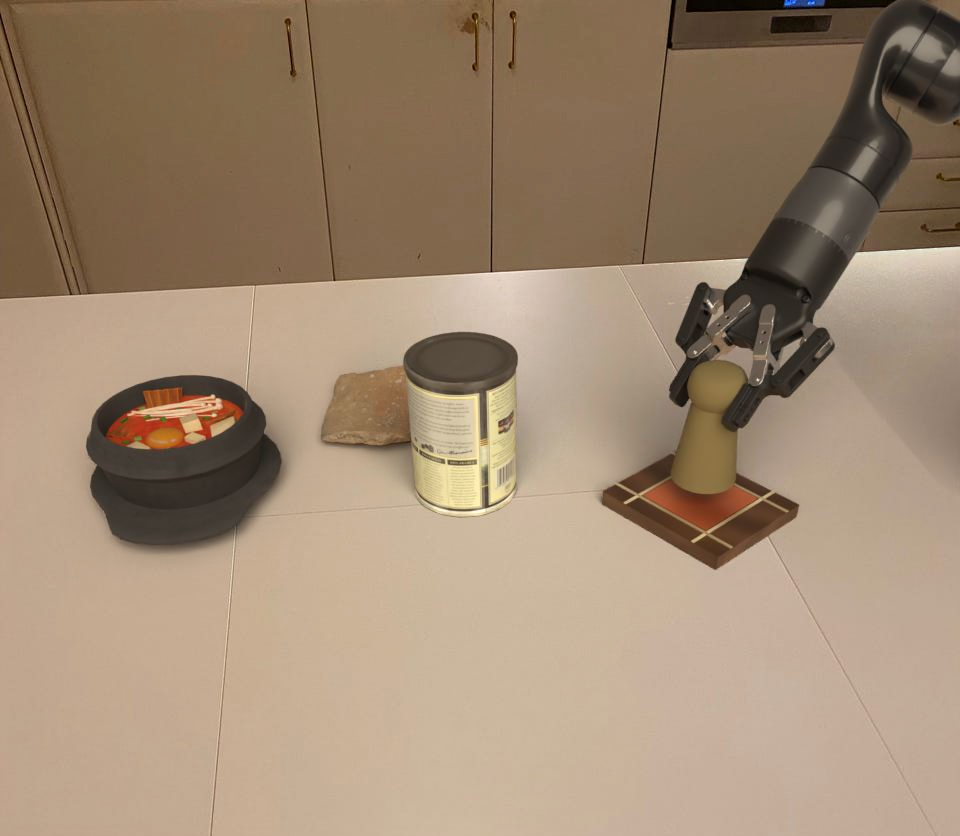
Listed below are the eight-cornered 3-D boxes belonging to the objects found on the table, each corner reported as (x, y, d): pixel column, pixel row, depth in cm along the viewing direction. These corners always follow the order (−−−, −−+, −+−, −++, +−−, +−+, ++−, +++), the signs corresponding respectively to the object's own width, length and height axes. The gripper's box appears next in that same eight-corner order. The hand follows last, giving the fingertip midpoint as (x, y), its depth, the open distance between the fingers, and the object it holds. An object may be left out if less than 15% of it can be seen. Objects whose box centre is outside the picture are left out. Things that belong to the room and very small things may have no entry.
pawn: (668, 491, 90) (684, 381, 83) (671, 455, 95) (686, 348, 87) (736, 497, 89) (757, 387, 82) (735, 460, 94) (755, 353, 86)
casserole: (116, 429, 107) (94, 357, 102) (287, 416, 109) (275, 344, 103) (73, 569, 89) (44, 492, 83) (280, 552, 90) (265, 474, 85)
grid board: (682, 459, 101) (684, 445, 100) (796, 517, 93) (800, 503, 92) (601, 504, 95) (602, 490, 94) (715, 570, 87) (718, 556, 86)
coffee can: (423, 457, 102) (414, 328, 93) (522, 463, 101) (523, 333, 91) (403, 514, 95) (392, 380, 85) (510, 521, 93) (510, 386, 84)
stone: (438, 389, 113) (437, 363, 111) (408, 460, 101) (406, 432, 99) (345, 383, 114) (342, 357, 112) (306, 452, 103) (301, 425, 101)
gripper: (895, 288, 83) (780, 463, 85) (756, 240, 91) (655, 401, 93) (876, 241, 77) (753, 431, 79) (728, 194, 85) (621, 368, 87)
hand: (701, 414), depth 86 cm, fingers closed on pawn, 5 cm apart
